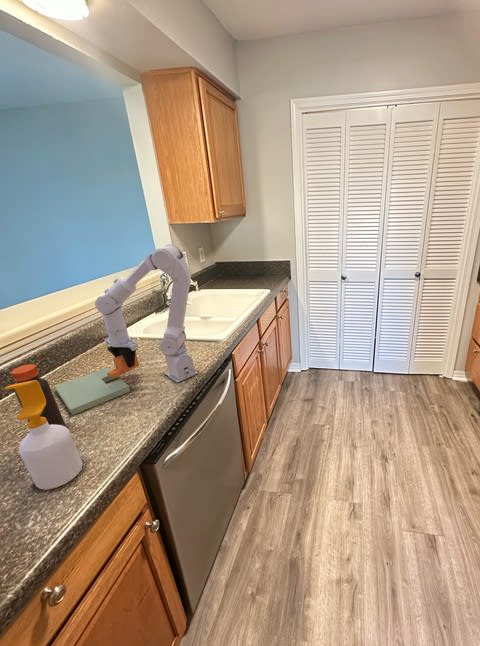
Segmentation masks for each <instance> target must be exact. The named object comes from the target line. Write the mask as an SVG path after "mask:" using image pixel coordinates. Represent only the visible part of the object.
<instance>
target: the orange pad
mask: <svg viewBox="0 0 480 646" xmlns="http://www.w3.org/2000/svg"><path fill="white" fill-rule="evenodd" d="M112 359H113V363H114V367H115V368H114V369H111V370H112V371H110V372H108V373H107V374H108V377H111V378H115V377H116V378H118V377H119V376H121V375H123V374H127V373H128V372H130V371H133V370H134V369H136V368H138V367H140V364H139V363H140V362H139V359H138V355H137V353H136V354H135V365H134V366H132V367H130V368H129V367H128V366H127V364H126V362H125V359H124V358H123V356H122V355H120V356H118V357H116V358H115V357H113V358H112Z"/></svg>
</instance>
